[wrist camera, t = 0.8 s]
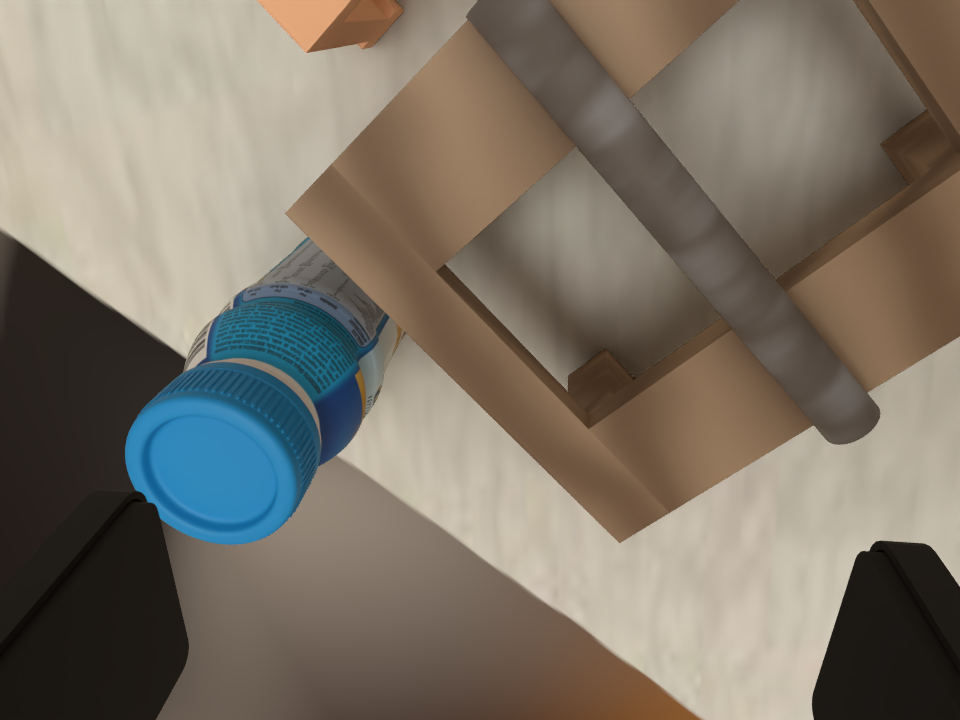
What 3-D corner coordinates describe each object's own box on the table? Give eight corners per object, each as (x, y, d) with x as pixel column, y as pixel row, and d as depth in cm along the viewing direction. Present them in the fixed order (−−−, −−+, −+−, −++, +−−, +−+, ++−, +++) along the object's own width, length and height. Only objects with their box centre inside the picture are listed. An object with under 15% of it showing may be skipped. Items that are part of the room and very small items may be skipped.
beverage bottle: (395, 203, 42) (263, 352, 24) (440, 333, 45) (354, 549, 27) (266, 239, 44) (54, 402, 26) (318, 362, 47) (162, 580, 29)
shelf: (720, -216, 32) (821, -365, 19) (976, 163, 37) (1188, 246, 24) (360, 158, 41) (262, 229, 28) (608, 418, 46) (622, 577, 33)
